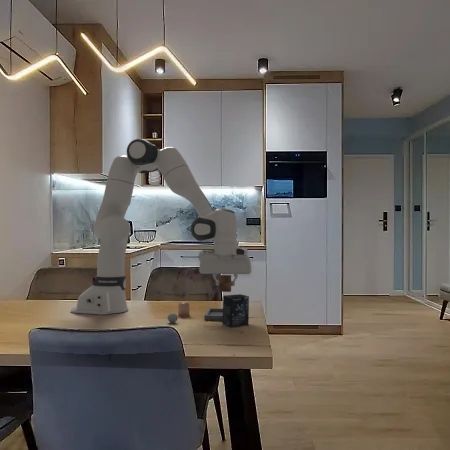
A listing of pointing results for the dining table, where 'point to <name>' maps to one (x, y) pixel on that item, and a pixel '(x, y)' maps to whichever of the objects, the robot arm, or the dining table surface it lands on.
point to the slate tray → (214, 314)
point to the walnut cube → (224, 283)
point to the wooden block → (183, 309)
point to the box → (235, 310)
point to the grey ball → (172, 317)
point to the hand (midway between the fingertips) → (225, 285)
